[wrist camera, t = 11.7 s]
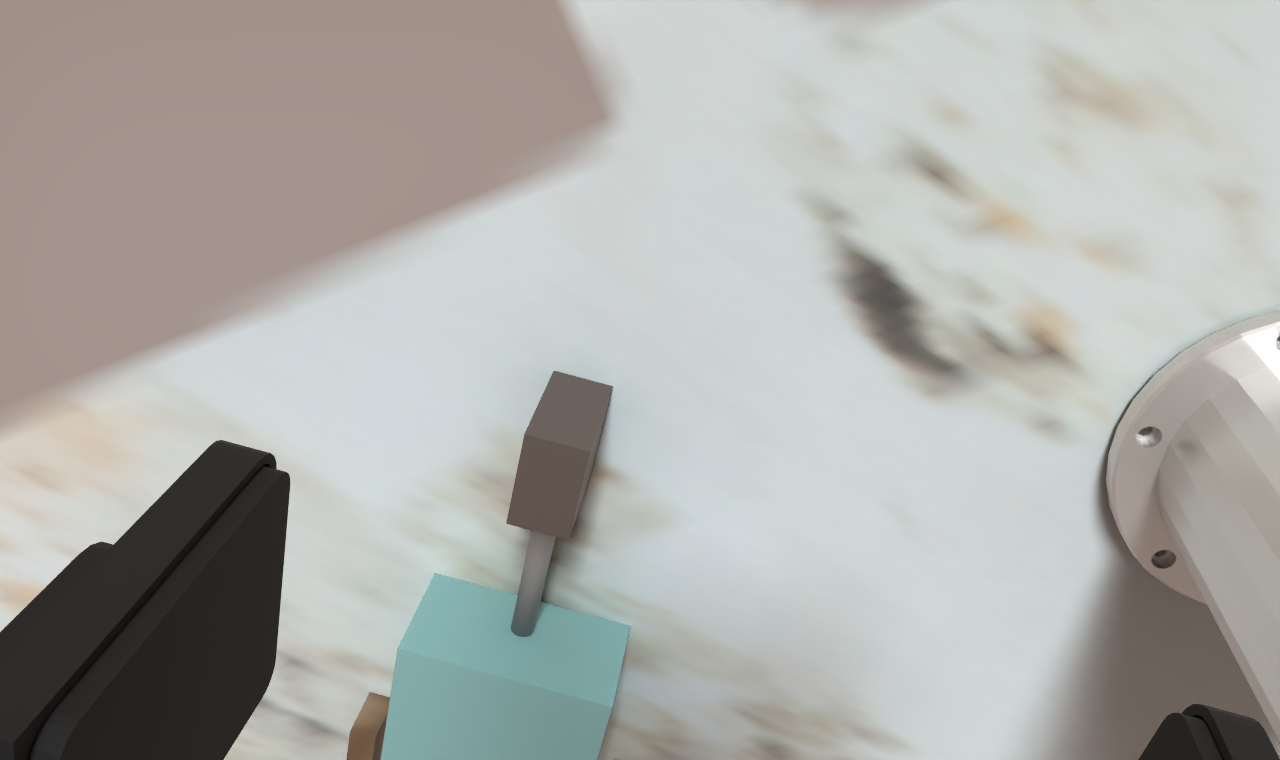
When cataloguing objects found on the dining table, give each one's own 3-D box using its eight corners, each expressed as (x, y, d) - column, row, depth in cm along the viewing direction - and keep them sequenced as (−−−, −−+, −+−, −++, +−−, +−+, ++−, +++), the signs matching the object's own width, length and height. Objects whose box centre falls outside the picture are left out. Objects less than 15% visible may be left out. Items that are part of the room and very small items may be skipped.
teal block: (693, 408, 42) (680, 476, 38) (598, 735, 51) (578, 821, 46) (473, 349, 42) (434, 410, 38) (416, 685, 51) (379, 766, 46)
